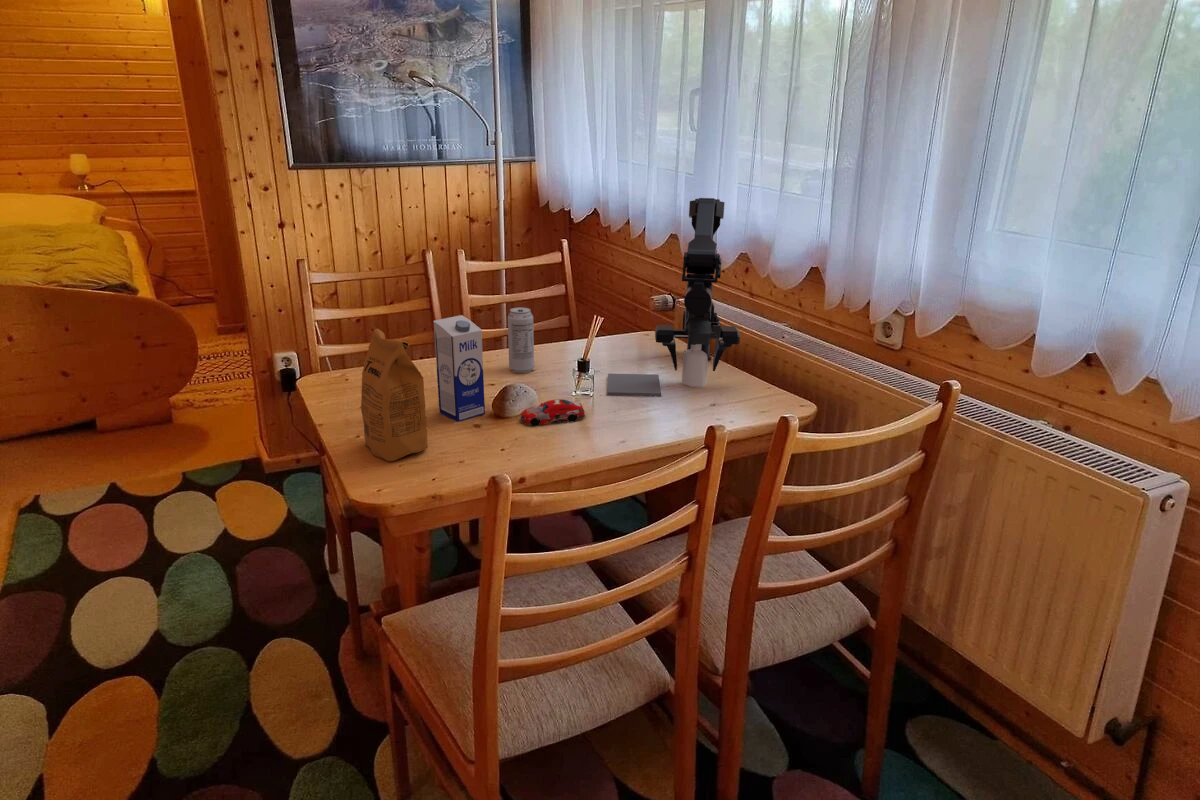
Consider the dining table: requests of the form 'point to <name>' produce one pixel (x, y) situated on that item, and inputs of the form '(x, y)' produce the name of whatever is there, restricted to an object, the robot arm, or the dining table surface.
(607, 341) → the dining table surface
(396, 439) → the coffee package
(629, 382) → the charcoal pad
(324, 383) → the dining table surface
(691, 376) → the white bottle
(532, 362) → the energy drink can
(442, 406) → the milk carton
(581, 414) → the race car
